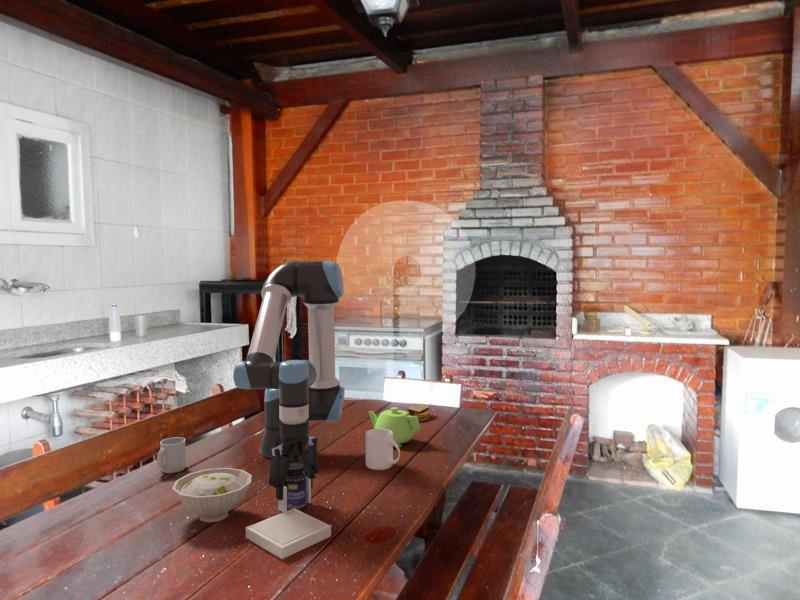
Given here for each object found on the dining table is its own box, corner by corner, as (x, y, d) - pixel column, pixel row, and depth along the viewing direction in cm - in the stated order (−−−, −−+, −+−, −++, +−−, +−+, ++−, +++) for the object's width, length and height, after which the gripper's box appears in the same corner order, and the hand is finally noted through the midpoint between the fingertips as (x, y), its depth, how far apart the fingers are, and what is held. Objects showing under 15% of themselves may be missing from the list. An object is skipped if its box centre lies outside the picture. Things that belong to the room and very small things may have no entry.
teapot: (360, 443, 200) (360, 408, 199) (378, 433, 212) (378, 400, 211) (411, 452, 191) (411, 415, 190) (426, 441, 203) (427, 406, 202)
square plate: (245, 537, 131) (245, 526, 131) (294, 517, 142) (294, 507, 141) (281, 559, 122) (281, 547, 122) (330, 536, 132) (330, 525, 132)
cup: (190, 466, 177) (190, 438, 176) (167, 478, 167) (167, 448, 167) (172, 463, 179) (171, 436, 178) (148, 474, 170) (147, 445, 169)
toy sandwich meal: (393, 418, 234) (393, 406, 233) (417, 412, 242) (417, 401, 242) (413, 424, 224) (413, 413, 224) (437, 418, 233) (437, 407, 233)
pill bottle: (286, 514, 144) (286, 472, 143) (280, 504, 149) (279, 464, 148) (309, 509, 147) (309, 467, 146) (302, 500, 152) (302, 460, 151)
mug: (391, 475, 170) (391, 440, 170) (360, 467, 177) (360, 433, 176) (406, 466, 178) (407, 433, 177) (376, 459, 184) (376, 427, 184)
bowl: (208, 541, 129) (207, 499, 129) (156, 521, 140) (155, 481, 139) (269, 510, 146) (268, 472, 145) (218, 494, 156) (218, 458, 155)
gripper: (270, 431, 136) (271, 523, 138) (332, 415, 151) (333, 498, 153) (252, 425, 141) (253, 514, 143) (315, 410, 156) (315, 490, 158)
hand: (294, 506), depth 148 cm, fingers open, 7 cm apart
